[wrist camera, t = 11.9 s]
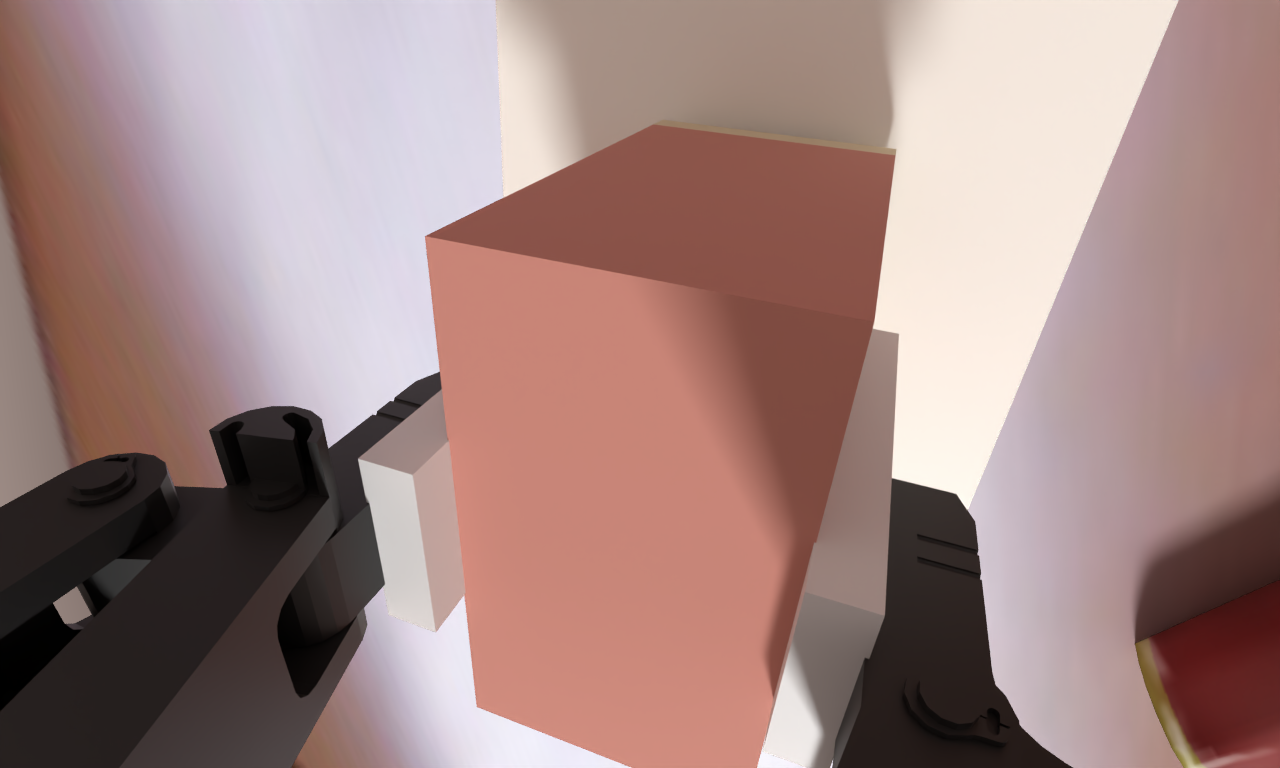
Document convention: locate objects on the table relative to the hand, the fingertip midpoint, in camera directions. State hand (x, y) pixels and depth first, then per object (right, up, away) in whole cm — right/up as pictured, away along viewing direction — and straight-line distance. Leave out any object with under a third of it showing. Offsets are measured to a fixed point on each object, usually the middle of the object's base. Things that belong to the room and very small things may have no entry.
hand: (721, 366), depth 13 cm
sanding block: (+1, +1, +2) cm, 2 cm away
